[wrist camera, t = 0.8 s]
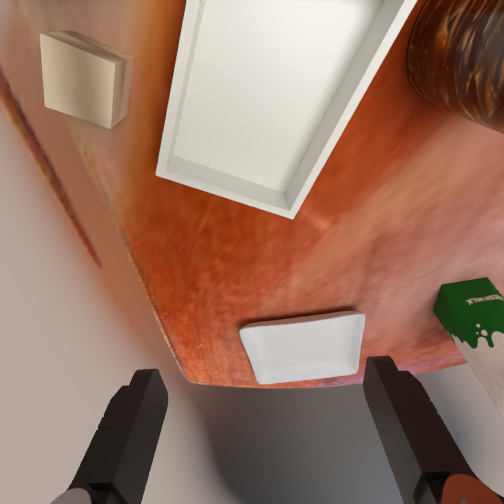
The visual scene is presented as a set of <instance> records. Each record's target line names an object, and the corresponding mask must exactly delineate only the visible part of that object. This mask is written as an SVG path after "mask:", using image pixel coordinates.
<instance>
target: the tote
mask: <svg viewBox="0 0 504 504" xmlns="http://www.w3.org/2000/svg"><path fill="white" fill-rule="evenodd" d="M416 1H417V0H187V2H186V7H185V13H184V19H183V24H182V30H181V35H180V41H179V46H178V52H177V58H176V63H175V69H174V74H173V80H172V86H171V91H170V97H169V102H168V108H167V114H166V119H165V125H164V130H163V136H162V142H161V147H160V153H159V158H158V164H157V169H156V176H159V177H162V178H165V179H169V180H172V181H175V182H178V183H181V184H184V185H187V186H190V187H193V188H197V189H200V190H203V191H206V192H209V193H212V194H215V195H218V196H222V197H225V198H228V199H231V200H234V201H237V202H240V203H243V204H246V205H250V206H253V207H256V208H259V209H262V210H265V211H268V212H271V213H275V214H278V215H281V216H284V217H287V218H290V219H294V217H295V215H296V213H297V212H298V210H299V208H300V206H301V205H302V203H303V201H304V199H305V197H306V196H307V194H308V192H309V190H310V189H311V187H312V185H313V183H314V182H315V180H316V178H317V176H318V175H319V173H320V171H321V169H322V167H323V166H324V164H325V162H326V160H327V159H328V157H329V155H330V153H331V152H332V150H333V148H334V146H335V145H336V143H337V141H338V139H339V137H340V136H341V134H342V132H343V130H344V129H345V127H346V125H347V123H348V122H349V120H350V118H351V116H352V114H353V113H354V111H355V109H356V107H357V106H358V104H359V102H360V100H361V99H362V97H363V95H364V93H365V92H366V90H367V88H368V86H369V84H370V83H371V81H372V79H373V77H374V76H375V74H376V72H377V70H378V69H379V67H380V65H381V63H382V62H383V60H384V58H385V56H386V54H387V53H388V51H389V49H390V47H391V46H392V44H393V42H394V40H395V39H396V37H397V35H398V33H399V32H400V30H401V28H402V26H403V24H404V23H405V21H406V19H407V17H408V16H409V14H410V12H411V10H412V9H413V7H414V5H415V3H416Z"/></svg>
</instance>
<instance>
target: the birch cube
mask: <svg viewBox="0 0 504 504" xmlns="http://www.w3.org/2000/svg"><path fill="white" fill-rule="evenodd" d="M40 46H41V60H42V73H43V86H44V100H45V107H48V108H51V109H54V110H57V111H59V112H62V113H65V114H68V115H71V116H74V117H77V118H79V119H82V120H85V121H88V122H91V123H94V124H97V125H100V126H102V127H105V128H108V129H112V128H113V127H114V126H115V125H117V124H118V123H119V122H120V121H121V120H122V119H124V118H125V117H126V116H127V115H128V112H129V102H130V92H131V82H132V72H133V62H134V57H133V56H131V55H128V54H126V53H123V52H121V51H119V50H116V49H114V48H112V47H109V46H107V45H104V44H102V43H100V42H97V41H95V40H92V39H90V38H88V37H85V36H83V35H81V34H78V33H76V32H73V31H61V32H46V33H40Z"/></svg>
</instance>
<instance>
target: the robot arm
mask: <svg viewBox="0 0 504 504" xmlns="http://www.w3.org/2000/svg"><path fill="white" fill-rule="evenodd" d="M363 387H364V394H365V397H366V401H367V403H368V406H369V409H370V412H371V414H372V417H373V419H374V422H375V425H376V428H377V430H378V433H379V436H380V439H381V441H382V444H383V447H384V450H385V452H386V455H387V458H388V461H389V463H390V466H391V469H392V472H393V474H394V477H395V480H396V482H397V485H398V488H399V491H400V494H401V496H402V499H403V502H404V504H504V497H502V496H500V495H498V494H497V493H495V492H494V491H492V490H491V489H490V488H489V487H488V486H487V485H485V484H484V483H483V482H481V480H480V479H479V478H478V477H477V476H476V475H475V474H474V472H473V471H472V470H471V468H470V467H469V465H468V464H467V462H466V460H465V458H464V457H463V455H462V453H461V451H460V450H459V448H458V446H457V445H456V443H455V441H454V439H453V438H452V436H451V434H450V432H449V431H448V429H447V427H446V426H445V424H444V422H443V420H442V419H441V417H440V415H438V413H437V410H436V408H435V406H434V405H433V403H432V402H431V401H430V398H429V396H428V394H427V393H426V391H425V389H424V387H423V386H422V384H421V383H420V382H419V381H418V380H417V379H416V378H415V377H414V376H413V375H412V374H411V373H410V372H409V371H398V369H397V367H396V365H395V363H394V361H393V360H392V358H391V357H390V356H374V357H368V358H367V361H366V368H365V374H364V380H363ZM167 406H168V393H167V390H166V387H165V385H164V383H163V380H162V377H161V375H160V372H159V370H158V369H144V370H137V371H136V372H135V373H134V375H133V378H132V380H131V382H130V385H129V386H122V387H121V388H120V389H119V390H118V392H117V393H116V394H115V395H114V396H113V397H112V399H111V400H110V402H109V404H108V407H107V409H106V411H105V413H104V417H102V419H101V422H100V424H99V426H98V430H96V432H95V434H94V437H93V439H92V441H91V443H90V445H89V447H88V449H87V451H86V454H85V456H84V458H83V460H82V462H81V464H80V467H79V469H78V471H77V473H76V475H75V477H74V479H73V481H72V483H71V485H70V486H69V488H68V489H67V491H66V492H64V493H63V494H61V495H60V496H58V497H57V498H56V499H55V500H54V501H53V502H52V503H51V504H141V501H142V497H143V494H144V490H145V486H146V483H147V480H148V476H149V472H150V469H151V465H152V462H153V458H154V454H155V450H156V447H157V443H158V440H159V436H160V432H161V429H162V425H163V422H164V418H165V414H166V411H167Z"/></svg>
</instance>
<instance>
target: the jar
mask: <svg viewBox="0 0 504 504" xmlns="http://www.w3.org/2000/svg"><path fill="white" fill-rule="evenodd" d="M407 70H408V76H409V79H410V82H411V84H412V86H413V88H414V90H415V91H416V92H417V93H418V94H419V95H420V96H421V97H422V98H423V99H425V100H426V101H428V102H430V103H432V104H434V105H436V106H438V107H441V108H443V109H445V110H447V111H450V112H452V113H454V114H457V115H459V116H461V117H463V118H466V119H468V120H470V121H473V122H475V123H478V124H480V125H482V126H485V127H487V128H490V129H492V130H495V131H497V132H500V133H502V134H504V0H427V1H426V3H425V4H424V6H423V8H422V10H421V12H420V14H419V16H418V18H417V20H416V23H415V25H414V28H413V31H412V34H411V37H410V41H409V46H408V52H407Z"/></svg>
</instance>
